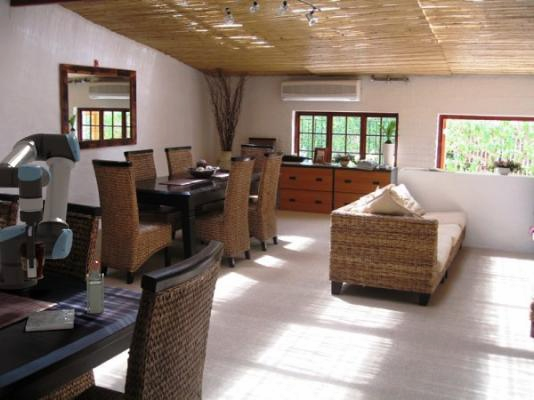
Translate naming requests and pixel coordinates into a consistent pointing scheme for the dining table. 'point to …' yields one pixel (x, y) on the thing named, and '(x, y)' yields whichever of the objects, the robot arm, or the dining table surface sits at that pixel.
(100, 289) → the press column
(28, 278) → the coffee cup
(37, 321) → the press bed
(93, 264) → the lever
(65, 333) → the dining table surface
